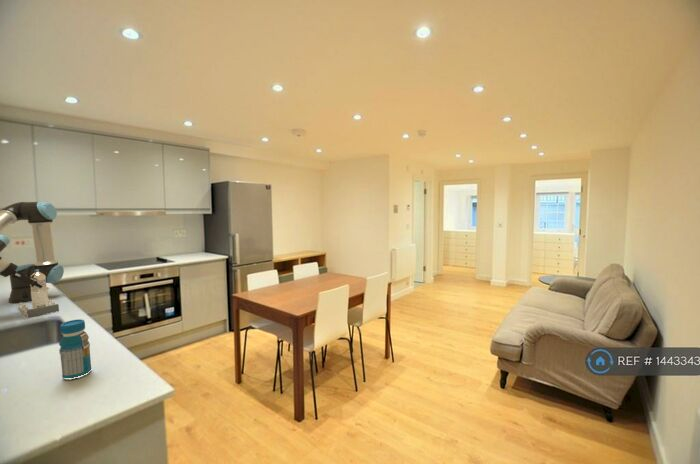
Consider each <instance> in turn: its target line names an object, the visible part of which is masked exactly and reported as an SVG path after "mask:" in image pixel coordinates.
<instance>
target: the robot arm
mask: <svg viewBox="0 0 700 464" xmlns="http://www.w3.org/2000/svg"><path fill="white" fill-rule="evenodd" d="M57 214H58V213H57V209H56V207H55V206H54V204H52V203H50V202H48V201H19V202H15V203H12V204H10V205H7V206H5V207H3V208H1V209H0V232H1V231H2V230H4V229H5V228H7V227H8V226H9V225H10V224H15V223H16V222H19V221H27V222H28V225H31V228H32V235H33V243H34V249H35V257H36V262H35V263H28V264H22V265H17V264H15V263H13V262H10V261H9V260H7V259H6V258H4V257H2V256H0V276H2V277H4V278H7V277H9V280H10V281H9V282H10V287H11V291H10V294H9V297H8V303H9V304H17V303H18V304H19V303H26V302H32V298H31V287H33V286H34V287H36V288H38V289H40V290H42V291H44V292H46V291H47V292H48V290H50V287H48V286H47V285H46V286H44V285H42V284H40V283H39V282H37V281H34V280H32V279H30V276H31V275H32V274H34V273H35V270H39V272H40V273H43V274H44V275H45V276H46V284H52V283H57V282H59V281H61V279H62V278H63V276H64V272H65V268H64V267H63V265H61V264H59V261H58V260H56V258H55V252H54V244H53V236H52V229H51V224H52V223H53V222H54V221H53V220H55V219H56V218H57ZM9 244H10V239H9V237H8V236H6V235H4V234H0V253H1V252H2V251H3V250H4V249H5V248H7V246H8V245H9ZM30 284H31V285H32V286H31V287H30Z"/></svg>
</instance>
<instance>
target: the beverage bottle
mask: <svg viewBox="0 0 700 464" xmlns="http://www.w3.org/2000/svg"><path fill="white" fill-rule="evenodd" d="M59 328H60V330H59V331H60V334H61V335H62V336H61V337H60V340H59V342H58V345H59V346H60V347H59V349H58V351H59V352H58V353H59V355H60V357H59V358H60V364H61V373H62V374H61V377H62V379H63V378H74V377H78V376H81V375H84V374H86V373H88V372H89V371H90V370H91V369H92V364H91V363H92V362H91V359H92V358H91V349H90V346H91V344H90V341H89V339H90V338H89V337H90V336H89V335H88V333H87V332H86V331H85V329H86V322H85V320H84V319H80V318H79V319H73V320H68V321H65V322H63V323H61V324H60V326H59ZM91 371H92V370H91Z"/></svg>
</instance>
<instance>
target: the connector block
mask: <svg viewBox="0 0 700 464" xmlns="http://www.w3.org/2000/svg"><path fill="white" fill-rule="evenodd" d="M59 306H60V305H59V304H58V303H55V304H54V305H49V306H44V307H39V308H34V309H33V308H30V309H29V308H28V310H27V314H28V317H27V318H33V317H37V316H42V315H48V314H52V313H57V312H59V311H60V307H59ZM56 311H57V312H56ZM51 312H52V313H51ZM47 313H48V314H47Z"/></svg>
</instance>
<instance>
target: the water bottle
mask: <svg viewBox="0 0 700 464" xmlns="http://www.w3.org/2000/svg"><path fill="white" fill-rule="evenodd" d="M30 279H32V280H34V281H37V282H39V283H40V284H42V285H44V286H46V287H47V283H46V276H45V275H44V274H43V273H40V272H39V270H35V273H34V274H32V275H31V276H30ZM31 286H32V285H31V284H30V287H31ZM48 296H49V295H48V290H47V291H46V292H44V291H42V290H40V289H38V288H36V287H34V286H33V287H31V298H32V301H31V305H32V306H31V307H32V308H31V309H34V308H39V307H44V306H49V303H48V298H49V297H48Z"/></svg>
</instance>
